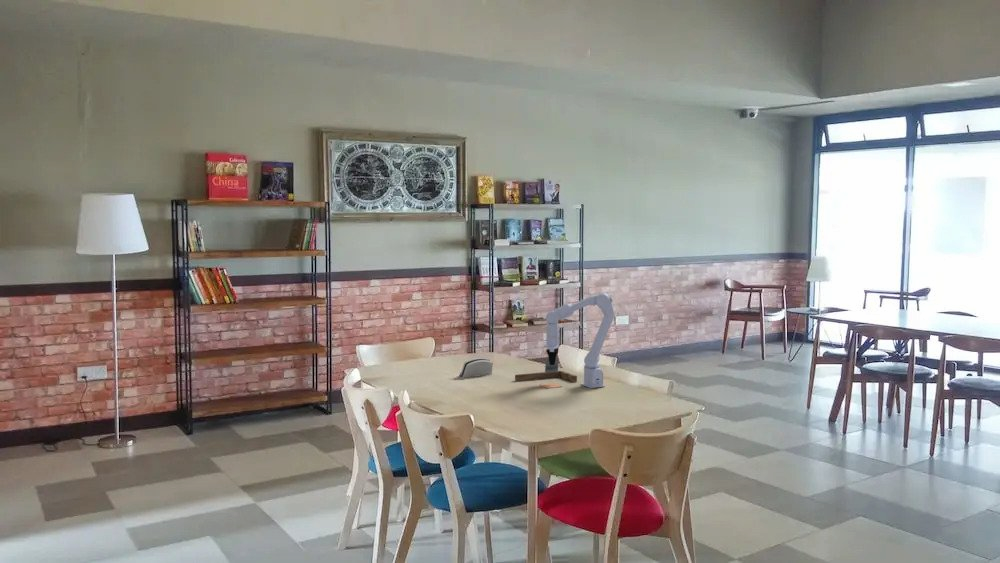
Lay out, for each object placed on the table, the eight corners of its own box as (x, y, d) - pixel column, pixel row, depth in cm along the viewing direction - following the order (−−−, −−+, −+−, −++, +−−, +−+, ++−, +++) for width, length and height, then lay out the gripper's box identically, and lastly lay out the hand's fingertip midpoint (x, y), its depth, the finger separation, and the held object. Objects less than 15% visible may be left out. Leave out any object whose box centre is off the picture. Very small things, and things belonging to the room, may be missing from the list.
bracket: (558, 369, 391) (558, 357, 390) (557, 372, 385) (557, 359, 384) (545, 369, 391) (545, 357, 391) (545, 372, 385) (545, 359, 385)
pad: (562, 386, 384) (562, 386, 384) (547, 388, 380) (547, 387, 380) (554, 383, 391) (554, 383, 391) (539, 385, 388) (539, 384, 388)
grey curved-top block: (486, 372, 419) (490, 355, 415) (491, 377, 415) (495, 359, 412) (458, 376, 410) (462, 358, 406) (463, 380, 406) (466, 362, 402)
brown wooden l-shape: (576, 382, 395) (576, 375, 395) (528, 386, 384) (528, 380, 384) (561, 376, 408) (561, 370, 408) (515, 380, 398) (515, 374, 397)
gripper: (544, 333, 397) (544, 361, 398) (543, 338, 382) (543, 367, 383) (559, 334, 396) (559, 361, 397) (558, 338, 382) (558, 367, 383)
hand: (552, 364), depth 390 cm, fingers closed on bracket
